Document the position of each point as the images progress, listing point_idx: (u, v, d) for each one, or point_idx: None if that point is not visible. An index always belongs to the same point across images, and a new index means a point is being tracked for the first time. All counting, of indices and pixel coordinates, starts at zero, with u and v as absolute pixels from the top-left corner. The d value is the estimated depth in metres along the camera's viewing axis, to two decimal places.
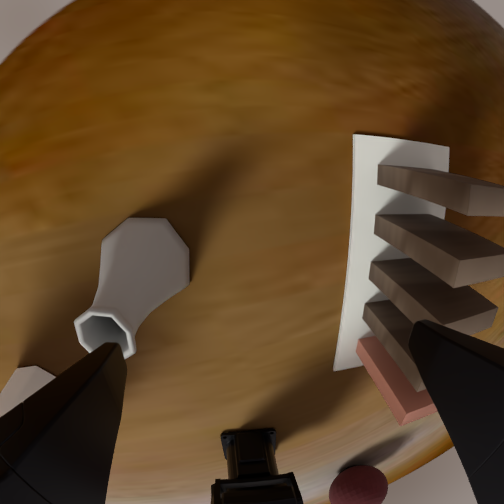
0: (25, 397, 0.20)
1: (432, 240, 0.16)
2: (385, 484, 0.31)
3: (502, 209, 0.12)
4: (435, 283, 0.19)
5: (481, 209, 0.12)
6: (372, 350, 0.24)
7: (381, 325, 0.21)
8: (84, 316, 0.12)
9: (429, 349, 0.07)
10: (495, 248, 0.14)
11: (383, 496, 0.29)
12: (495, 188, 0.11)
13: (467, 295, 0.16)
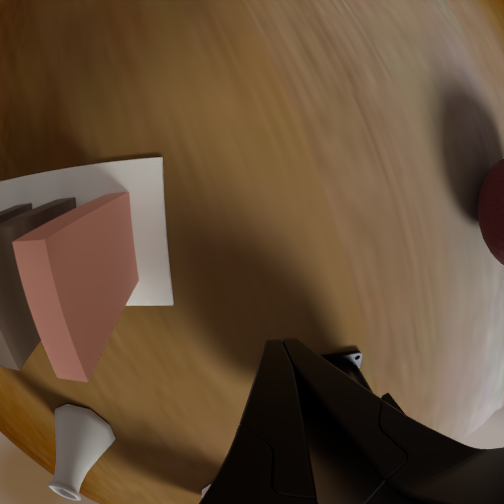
0: None
1: None
2: None
3: None
4: None
5: None
6: None
7: None
8: (56, 492, 0.15)
9: None
10: None
11: None
12: None
13: None
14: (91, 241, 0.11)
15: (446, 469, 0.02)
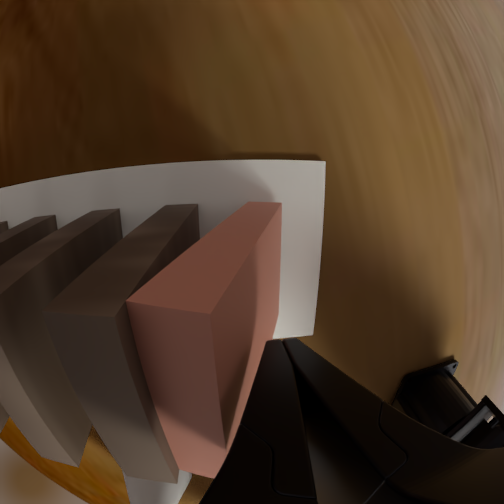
0: None
1: None
2: None
3: None
4: None
5: None
6: None
7: None
8: None
9: None
10: None
11: None
12: None
13: None
14: (256, 285, 0.08)
15: (446, 469, 0.02)
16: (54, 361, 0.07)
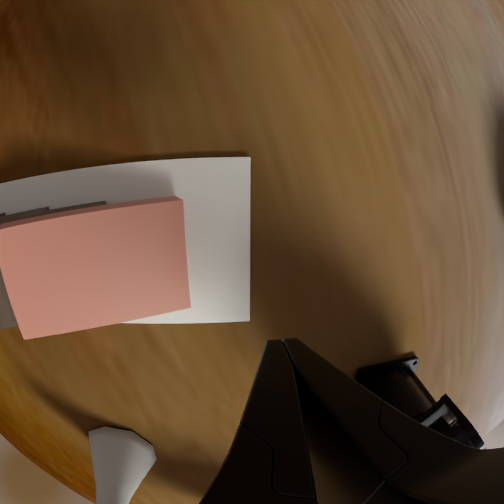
0: None
1: None
2: None
3: None
4: None
5: None
6: None
7: None
8: None
9: None
10: None
11: None
12: None
13: None
14: (60, 243, 0.12)
15: (446, 469, 0.02)
16: None
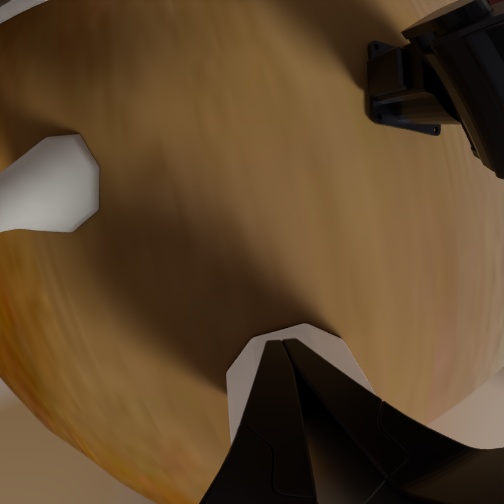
0: (233, 409, 0.19)
1: None
2: None
3: None
4: None
5: None
6: None
7: None
8: None
9: None
10: None
11: None
12: None
13: None
14: None
15: (446, 469, 0.02)
16: None
